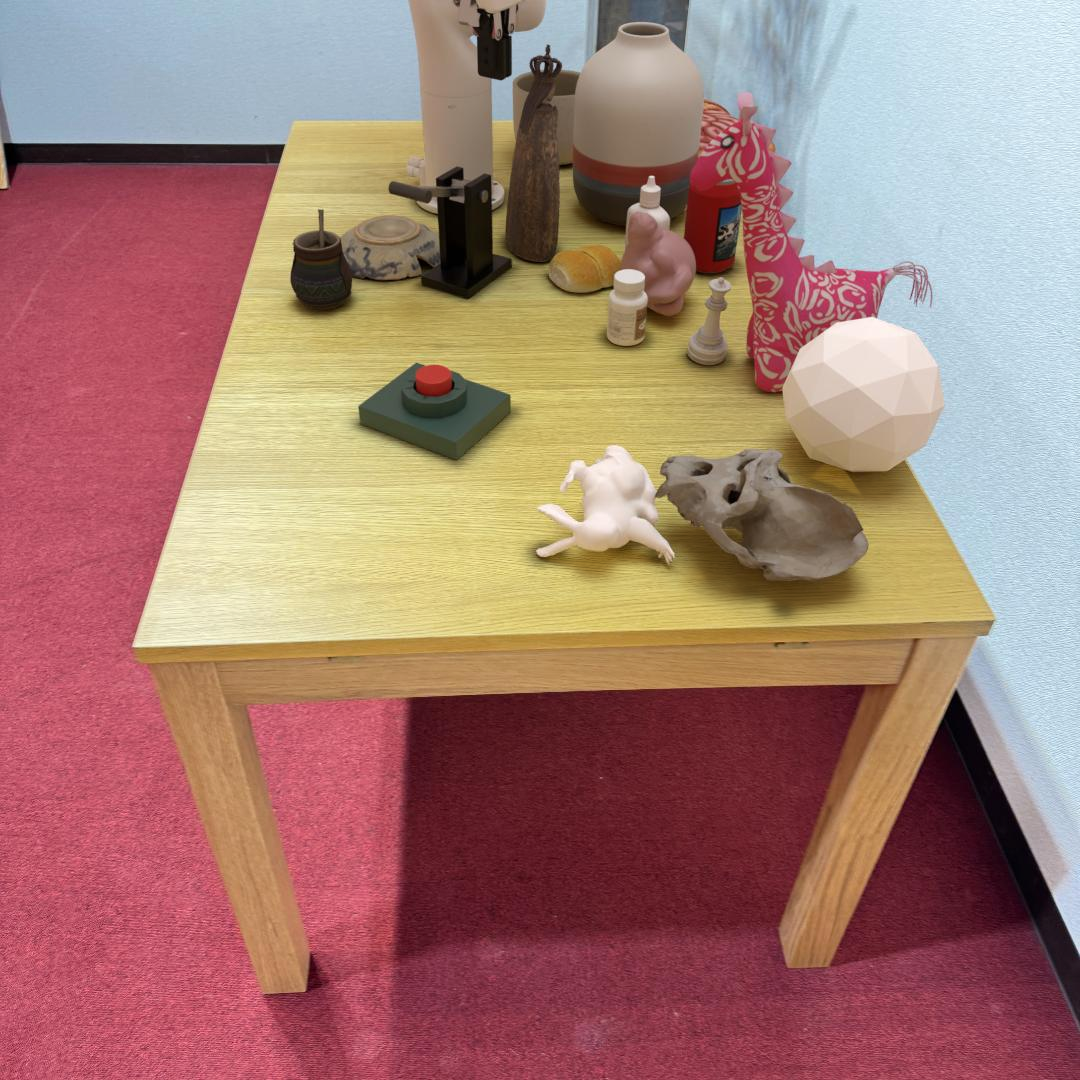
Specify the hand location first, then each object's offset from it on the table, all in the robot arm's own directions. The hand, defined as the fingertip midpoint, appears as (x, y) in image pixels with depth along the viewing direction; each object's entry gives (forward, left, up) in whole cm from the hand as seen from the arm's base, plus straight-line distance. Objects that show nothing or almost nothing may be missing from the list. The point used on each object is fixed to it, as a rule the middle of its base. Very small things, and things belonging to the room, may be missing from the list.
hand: (494, 75), depth 112 cm
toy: (+36, +4, -27) cm, 45 cm away
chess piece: (+26, +3, -27) cm, 37 cm away
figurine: (+16, +11, -27) cm, 33 cm away
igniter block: (+7, -23, -27) cm, 36 cm away
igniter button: (+7, -23, -23) cm, 33 cm away
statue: (-5, +16, -27) cm, 32 cm away
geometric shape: (+41, -1, -22) cm, 47 cm away
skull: (+37, -24, -30) cm, 53 cm away
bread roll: (+5, +12, -27) cm, 30 cm away
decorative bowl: (-20, +5, -27) cm, 34 cm away
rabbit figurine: (+33, -27, -26) cm, 49 cm away
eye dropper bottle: (+10, +19, -27) cm, 34 cm away
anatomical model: (+13, +46, -23) cm, 53 cm away
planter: (-19, +45, -27) cm, 56 cm away
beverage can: (+16, +24, -27) cm, 40 cm away
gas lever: (-8, 0, -15) cm, 17 cm away
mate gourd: (-19, -10, -27) cm, 34 cm away
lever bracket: (-8, +5, -27) cm, 29 cm away
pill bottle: (+16, +2, -27) cm, 32 cm away
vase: (0, +34, -27) cm, 43 cm away
